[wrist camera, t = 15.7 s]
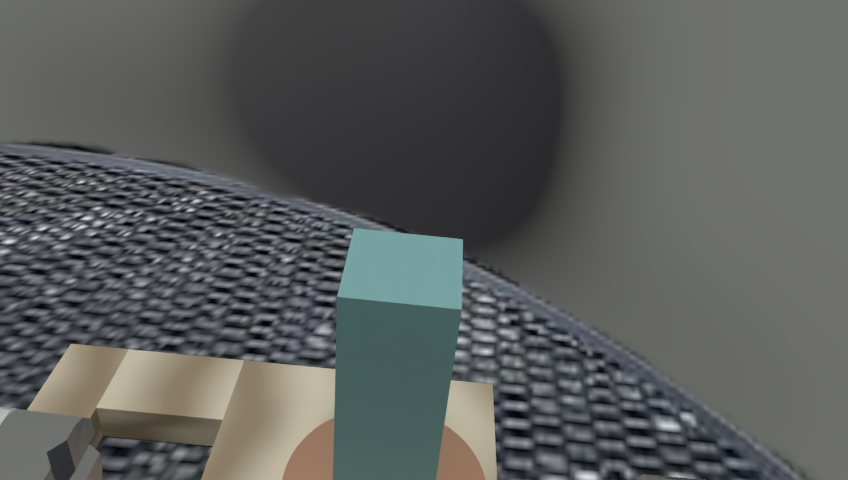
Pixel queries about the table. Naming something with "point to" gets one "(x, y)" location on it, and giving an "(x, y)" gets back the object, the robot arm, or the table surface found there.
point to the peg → (395, 354)
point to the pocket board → (226, 406)
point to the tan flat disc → (314, 455)
